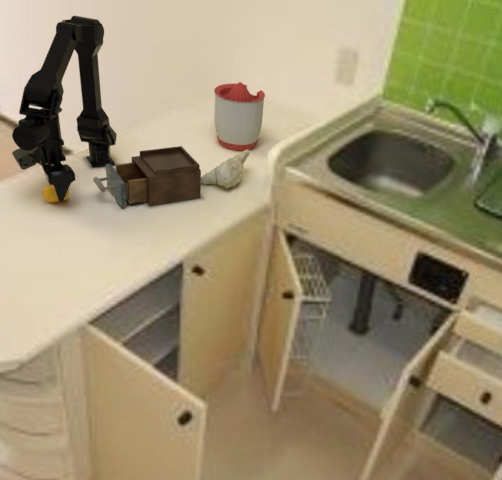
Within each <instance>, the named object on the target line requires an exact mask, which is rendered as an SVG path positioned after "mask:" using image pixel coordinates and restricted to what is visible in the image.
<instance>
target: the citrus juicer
mask: <svg viewBox="0 0 502 480" xmlns="http://www.w3.org/2000/svg"><path fill="white" fill-rule="evenodd" d="M213 93H214V119H213V120H214V128H215V129H214V130H215V133H216V138H217V140H218V143H219V144H220V145H221V146H222V147H224V148H226V149H228V150H234V151H237V152H240V151H241V152H242V151H245V150H247V149H248V150H251V149H252V148H255V146H256V144H257V142H258V140H259V137H260V134H261V130H262V126H263V116H264V104H265V103H264V102H265V97H266V94H265V92H264V91H263V90H259V91H257V92H256V94H255V95H254V94H252V93H250V91H249V89H248V84H244V83H243V82H241V81H239V82H236V83H224V84H220V85H218V86H216V87H215V88H214V90H213Z"/></svg>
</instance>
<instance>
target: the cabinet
mask: <svg viewBox="0 0 502 480" xmlns="http://www.w3.org/2000/svg"><path fill="white" fill-rule="evenodd" d="M131 162H134V163H135V164H136V165H137V166H138V167H139V169H140V170H141V171H142V172H143V174H144V175H145V176H146V177H147V178H148V196H149V201H145V203H146V204H147V206H149V207H156V206H162V205H167V204H174V203H181V202H186V201H187V202H188V201H193V200H199V199H201V191H202V190H201V189H202V187H201V185H202V183H201V177H202V170H201V169H200V168H199V170H195V171H188V172H181V173H174V174H167V175H160V176H156V175H155V173H154V172H153V171H152V170H151V169H150V168H149V166H148V165H147V164H146V163H145V162H144V160H143V159H142V158H141V157H140V155H136V156H131Z"/></svg>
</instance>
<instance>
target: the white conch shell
mask: <svg viewBox="0 0 502 480" xmlns="http://www.w3.org/2000/svg"><path fill="white" fill-rule="evenodd" d="M250 153H251V152H250V151H249V149H247V150H242V151H241V152H240V153H238V154H236V155H234V156H232V157H229V158H228V159H226V160H225V161H223V162H221V163H220V164H219V165H217V166H215V167H214V168H213V169H212V170H209V171H208V172H206V173H205V174H203V175H201V184H203V185H206V186H207V185H208V184H210V185H211V184H212V185H219V186H220V187H223V188H226V189H229V188H231V187H235V186H236V185H237V184H238V183H239V182H240V181H242V171H243V169H244V164H245V162H246V161H247V158H248V157H249V156H250Z"/></svg>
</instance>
